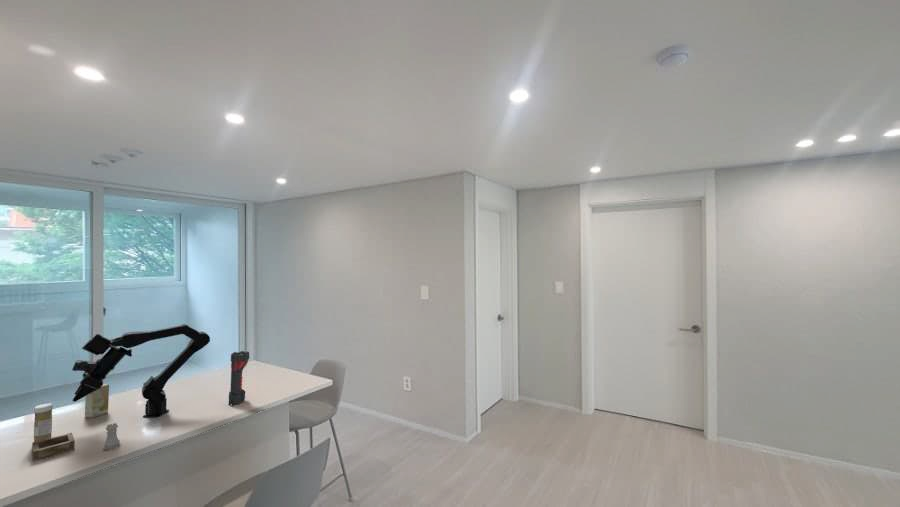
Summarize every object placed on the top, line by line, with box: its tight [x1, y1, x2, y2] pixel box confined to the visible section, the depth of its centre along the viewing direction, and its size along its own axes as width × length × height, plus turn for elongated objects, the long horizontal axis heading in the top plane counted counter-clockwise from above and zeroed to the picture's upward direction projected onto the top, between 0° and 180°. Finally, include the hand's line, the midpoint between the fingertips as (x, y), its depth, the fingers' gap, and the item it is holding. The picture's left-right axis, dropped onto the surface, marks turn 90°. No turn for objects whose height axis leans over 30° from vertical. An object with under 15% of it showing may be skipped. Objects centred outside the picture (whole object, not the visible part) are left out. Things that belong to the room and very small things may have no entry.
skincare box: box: [84, 383, 110, 419], centre depth 156 cm, size 6×4×12 cm
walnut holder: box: [31, 432, 76, 462], centre depth 127 cm, size 10×10×3 cm
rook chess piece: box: [102, 422, 121, 451], centre depth 129 cm, size 4×4×8 cm
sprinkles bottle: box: [33, 402, 54, 442], centre depth 133 cm, size 5×5×13 cm
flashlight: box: [228, 350, 250, 406], centre depth 171 cm, size 8×8×23 cm
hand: (74, 397), depth 141 cm, fingers open, 9 cm apart
